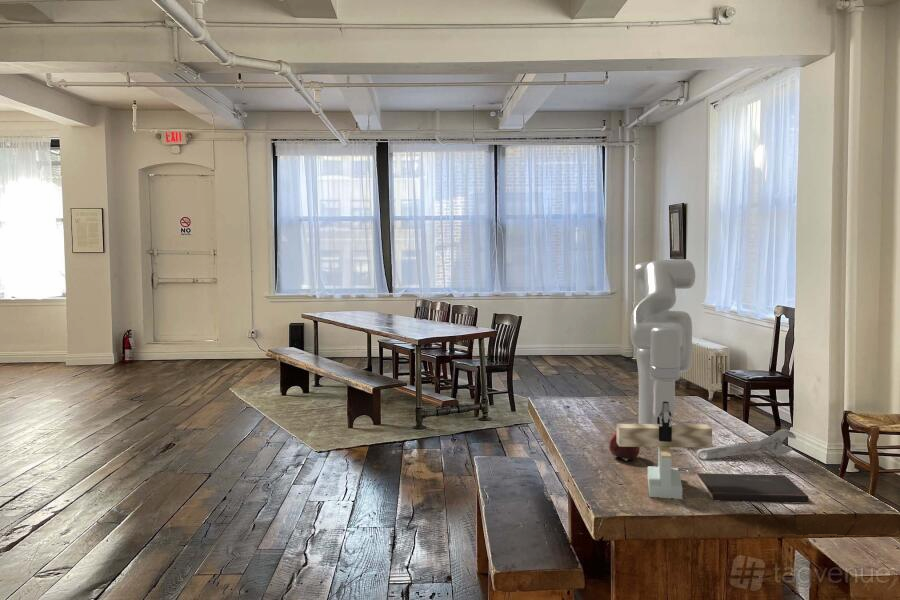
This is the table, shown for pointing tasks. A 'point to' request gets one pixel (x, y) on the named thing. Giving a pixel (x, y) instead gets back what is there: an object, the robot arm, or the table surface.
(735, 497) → the hardcover book
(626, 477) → the table surface
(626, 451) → the fruit
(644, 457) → the table surface
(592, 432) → the table surface
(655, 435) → the birch bar
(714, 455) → the wrench
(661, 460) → the ridge stand
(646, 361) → the robot arm
